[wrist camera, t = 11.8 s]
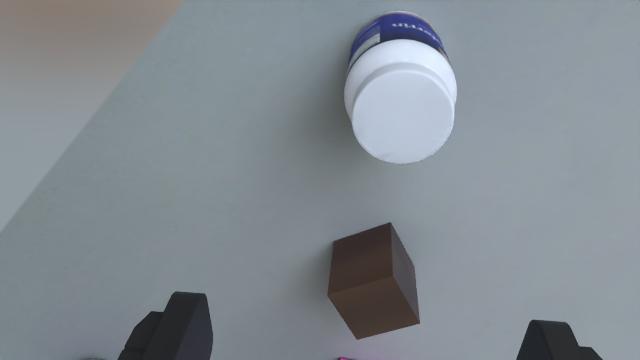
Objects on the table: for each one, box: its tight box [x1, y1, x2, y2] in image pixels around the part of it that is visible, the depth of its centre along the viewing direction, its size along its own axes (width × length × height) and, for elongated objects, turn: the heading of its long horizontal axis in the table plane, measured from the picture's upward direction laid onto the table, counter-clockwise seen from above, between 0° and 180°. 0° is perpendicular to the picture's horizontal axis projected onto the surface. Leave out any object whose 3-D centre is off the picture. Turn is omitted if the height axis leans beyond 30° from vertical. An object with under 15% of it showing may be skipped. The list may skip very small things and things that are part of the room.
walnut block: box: [327, 223, 420, 340], centre depth 36 cm, size 5×5×6 cm
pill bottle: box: [344, 11, 457, 164], centre depth 26 cm, size 6×6×10 cm
